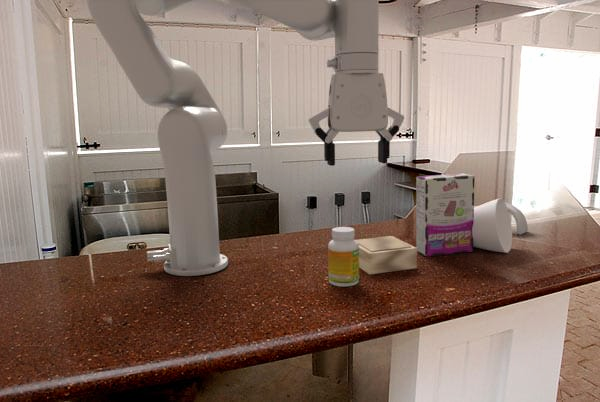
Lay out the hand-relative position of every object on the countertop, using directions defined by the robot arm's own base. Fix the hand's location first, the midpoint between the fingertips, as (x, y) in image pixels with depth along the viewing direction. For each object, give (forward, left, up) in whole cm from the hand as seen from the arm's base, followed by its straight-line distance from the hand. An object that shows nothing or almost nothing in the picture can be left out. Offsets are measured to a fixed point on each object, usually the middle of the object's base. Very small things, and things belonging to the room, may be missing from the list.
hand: (357, 163), depth 87 cm
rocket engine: (+31, +9, -21) cm, 38 cm away
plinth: (+7, +3, -21) cm, 22 cm away
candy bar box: (+23, +6, -21) cm, 31 cm away
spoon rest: (+44, +22, -21) cm, 53 cm away
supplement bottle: (-4, -4, -21) cm, 22 cm away
